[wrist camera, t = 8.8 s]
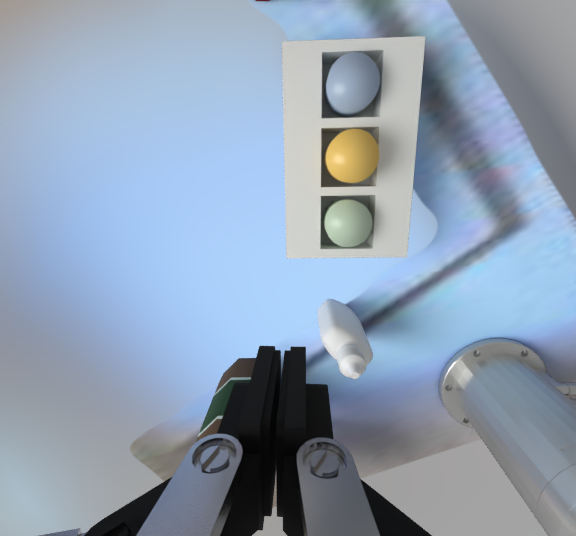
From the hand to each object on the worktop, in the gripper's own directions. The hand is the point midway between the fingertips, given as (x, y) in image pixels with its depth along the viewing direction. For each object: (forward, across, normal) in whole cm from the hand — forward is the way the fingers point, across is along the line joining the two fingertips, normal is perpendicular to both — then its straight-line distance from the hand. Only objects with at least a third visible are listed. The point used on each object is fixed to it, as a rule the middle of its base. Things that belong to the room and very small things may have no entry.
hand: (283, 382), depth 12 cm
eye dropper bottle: (+27, -5, +9) cm, 29 cm away
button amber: (+23, -5, -9) cm, 25 cm away
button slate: (+24, -5, -15) cm, 29 cm away
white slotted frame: (+26, -5, -9) cm, 28 cm away
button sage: (+24, -5, -3) cm, 25 cm away
